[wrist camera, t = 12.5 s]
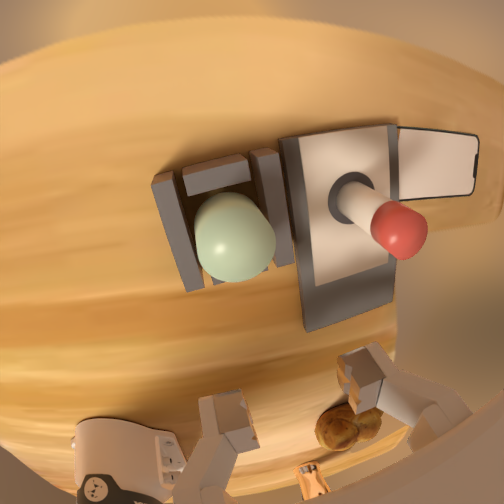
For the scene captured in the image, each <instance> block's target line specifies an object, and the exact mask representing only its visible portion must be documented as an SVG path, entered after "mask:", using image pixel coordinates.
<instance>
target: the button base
mask: <svg viewBox="0 0 504 504" xmlns="http://www.w3.org/2000/svg"><path fill="white" fill-rule="evenodd" d="M249 155H250V160H251V165H252V170H253V176H254V181H255V186H256V191H257V197H258V202H259V207H260V211H261V213H262V214H263V215H264V217H265V218H266V220H267V221H268V222H269V224H270V225H271V227H272V228H273V231H274V233H275V237H276V249H275V253H274V256H273V258H272V259H273V261H274V263H275V265H276V266H277V268H278V267H281V266H285V265H288V264H292V263H295V261H294V253H293V246H292V238H291V231H290V224H289V217H288V210H287V203H286V196H285V190H284V183H283V177H282V171H281V164H280V158H279V153H277V152H275V151H274V150H272V149H270V148H268V147H267V148H262V149H257V150H252V151H249ZM182 170H183V180H184V183H185V187H186V191H187V195H188V196H192V195H196V194H199V193H203V192H207V191H211V190H214V189H218V188H222V187H226V186H230V185H234V184H238V183H242V182H246V181H251V176H250V171H249V166H248V161H247V159H246V158H244V157H243V156H242V155H241V154H240V153H239V154H234V155H230V156H226V157H222V158H218V159H214V160H210V161H206V162H202V163H198V164H194V165H190V166H187V167H183V168H182ZM151 188H152V191H153V194H154V198H155V201H156V204H157V207H158V210H159V214H160V217H161V220H162V223H163V226H164V229H165V232H166V235H167V238H168V241H169V244H170V247H171V250H172V253H173V256H174V259H175V261H176V264H177V267H178V270H179V273H180V276H181V278H182V281H183V284H184V286H185V289H186V292H191V291H194V290H198V289H202V288H205V286H204V280H203V273H202V268H201V265H200V261H199V259H198V255H197V252H196V249H195V245H194V242H193V239H192V235H191V232H190V229H189V225H188V222H187V218H186V215H185V211H184V208H183V204H182V201H181V197H180V194H179V190H178V187H177V183H176V179H175V176H174V172H173V170H172V171H169V172H165V173H162V174H158V175H155V176H154V178H153V181H152V183H151ZM267 270H268V266H267V267H266V268H265V269H264V270H263V271H267ZM263 271H262V272H263ZM211 278H212V281H213V284H214V285H217V284H220V283H224V282H225V281H221V280H218V279H216V278H214V277H212V276H211Z"/></svg>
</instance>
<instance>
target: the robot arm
mask: <svg viewBox="0 0 504 504" xmlns="http://www.w3.org/2000/svg"><path fill="white" fill-rule="evenodd" d="M337 363H338V365H339V368H338V370H337V378H338V382H339V385H340V387H341V389H342V391H343V393H345V394H348V395H349V400H348V402H349V404H350V405H351V407H352V409H353V411H354V413H355V414H356V415H357V414H359V413H361V412H364V411H366V410H369V409H371V408H373V407H377V408H378V409H380V410H382V411H384V412H386V413H387V414H389V415H391V416H393V417H394V418H396V419H398V420H400V421H402V422H403V423H405V424H407V425H409V426H411V427H413V428H414V429H413V431H412V433H411V434H410V436H409V438H408V440H407V443H408V445H409V446H410V448H411V450H412V452H413V453H412V454H411V455H409V456H407V457H406V458H403V459H402V460H400V461H398V462H396V463H394V464H392V465H390V466H388V467H386V468H384V469H382V470H380V471H378V472H376V473H374V474H372V475H370V476H367V477H365V478H363V479H360V480H358V481H356V482H354V483H351V484H349V485H346V486H344V487H341V488H339V489H336V490H333V491H331V492H328V493H325V494H322V495H320V496H317V497H314V498H311V499H308V500H304V501H302V502H298V503H295V504H504V389H503V390H502V391H501V392H499V393H498V394H497V395H496V396H495V397H494V398H492V399H491V400H490V401H489V402H487V403H486V404H485V405H484V406H482V407H481V408H480V409H479V410H477V411H476V412H475V413H472V411H471V410H470V409H469V407H468V406H467V405H466V404H465V402H464V401H463V400H462V398H461V397H460V396H459V395H458V393H457V392H456V391H455V390H454V389H452V388H449V387H447V386H444V385H441V384H439V383H436V382H433V381H430V380H428V379H425V378H423V377H420V376H418V375H415V374H412V373H410V372H407V371H405V370H401V371H399V370H398V369H397V367H396V366H395V364H394V363H393V362H392V360H391V359H390V358H389V356H388V355H387V354H386V353H385V351H384V350H383V349H382V347H381V346H380V345H379V343H377V342H376V341H375V342H372V343H370V344H368V345H366V346H363V347H360V348H357V349H355V350H353V351H350V352H348V353H345V354H343V355H340V356H338V358H337ZM198 404H199V411H200V419H201V425H202V432H203V438H200V439H199V440H198V442H197V444H196V446H195V448H194V450H193V452H192V454H191V456H190V458H189V460H188V461H186V459H185V457H184V455H183V452H182V450H181V448H180V446H179V443H178V441H177V439H176V436H175V434H174V433H172V432H168V431H162V430H154V429H150V428H147V427H144V426H142V425H139V424H136V423H132V422H128V421H123V420H117V419H107V418H97V419H89V420H85V421H82V422H80V423H79V424H78V425H77V426H76V428H75V437H74V438H73V439H72V440H71V447H72V448H73V449H74V465H75V482H76V484H77V485H78V486H79V487H80V489H79V490H78V491H77V499H76V504H164V503H165V502H166V501H167V500H168V499H169V498H170V497H172V496H173V503H174V504H239V503H238V502H237V501H236V500H235V499H233V498H232V497H231V496H230V495H229V494H228V493H227V492H226V491H225V489H226V486H227V483H228V481H229V478H230V475H231V473H232V470H233V467H234V464H235V462H236V459H237V456H238V455H237V454H239V453H243V452H247V451H251V450H254V449H258V448H260V445H259V442H258V438H257V434H256V431H255V429H254V427H253V420H252V417H251V414H250V410H249V407H248V404H247V402H246V400H245V398H244V394H243V392H242V389H241V388H240V389H236V390H231V391H227V392H223V393H219V394H214V395H209V396H205V397H201V398H199V401H198Z"/></svg>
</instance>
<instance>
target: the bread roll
mask: <svg viewBox="0 0 504 504" xmlns="http://www.w3.org/2000/svg"><path fill="white" fill-rule="evenodd" d="M383 412H384V411H382V410H380V409H378V408H377V407H373V408H371V409H369V410H366V411H364V412H361V413H359V414H357V415H356V414H355V413H354V411H353V409H352V407H351V405H350V404H349V403H346V404H342V405H340V406H337V407H335V408H332V409H330V410H328V411H327V412H325V413H324V414H323V415H322V416H321V417H320V418H319V420H318V421H317V424H316V428H315V434H316V438H317V440H318V442H319V444H320V445H321V446H322V447H324V448H326V449H328V450H333V451H345V450H346V449H349V448H350V447H352V446H353V445H354V444H355V443H356V442H365V441H368V440H370V439H372V438H373V437H375V436H376V434H377V433H378V431H379V429H380V426H381V416H382V414H383Z"/></svg>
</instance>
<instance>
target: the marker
mask: <svg viewBox="0 0 504 504" xmlns="http://www.w3.org/2000/svg"><path fill="white" fill-rule="evenodd" d="M337 207H338V210H339V211H340V212H341V213H342V214H343V215H344V216H346V217H347V218H348V219H350V220H351V221H352V222H354V223H355V224H356V225H358V226H359V227H360V228H361V229H363V230H364V231H365V232H367V233H368V234H369V235H370V236H372V238H373V239H374V240H375V241H376V242H377V243H378V244H379V245H381V246H382V247H383V248H384V249H386V250H387V251H388V252H389V253H390V254H392V255H393V256H394V257H395V258H397V259H399V260H406V259H409V258H411V257H413V256H414V255H415V254H416V253H417V252H418V251H419V250H420V249H421V248H422V246H423V244H424V242H425V240H426V237H427V232H428V226H427V222H426V219H425V218H424V217H423V216H422V215H421V214H419V213H417V212H415V211H414V210H412V209H410V208H409V207H407V206H405V205H403V204H401V203H400V202H398V201H393V200H392V199H390V198H388V197H386V196H384V195H383V194H381V193H379V192H377V191H375V190H373V189H371V188H370V187H368V186H366V185H364V184H362V183H360V182H357V181H352V182H349V183H347V184H345V185H344V186H343V187H342V188H341V189H340V191H339V193H338V195H337Z"/></svg>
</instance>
